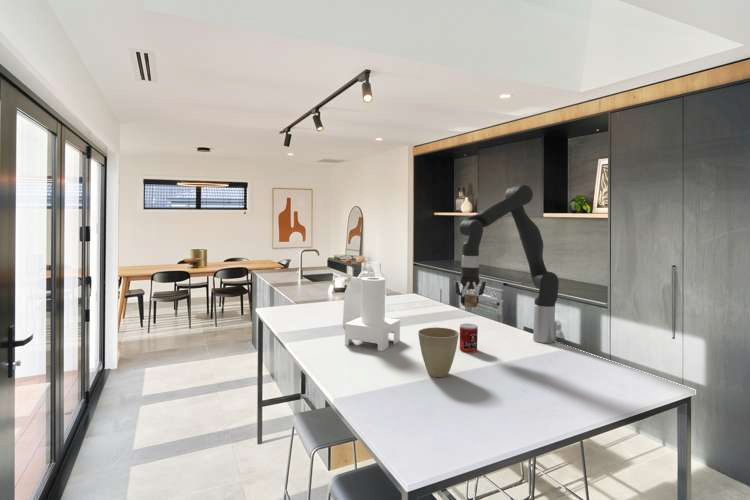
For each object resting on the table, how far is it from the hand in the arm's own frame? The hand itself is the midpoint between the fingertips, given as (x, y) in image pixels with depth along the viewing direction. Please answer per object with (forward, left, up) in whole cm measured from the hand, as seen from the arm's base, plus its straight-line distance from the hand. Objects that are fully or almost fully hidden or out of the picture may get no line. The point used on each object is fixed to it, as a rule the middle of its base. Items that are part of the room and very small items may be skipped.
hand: (469, 304), depth 194 cm
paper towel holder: (+41, -14, -21) cm, 48 cm away
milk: (+47, -46, -21) cm, 69 cm away
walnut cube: (0, 0, -1) cm, 1 cm away
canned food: (0, 0, -21) cm, 21 cm away
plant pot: (+20, +28, -21) cm, 40 cm away
